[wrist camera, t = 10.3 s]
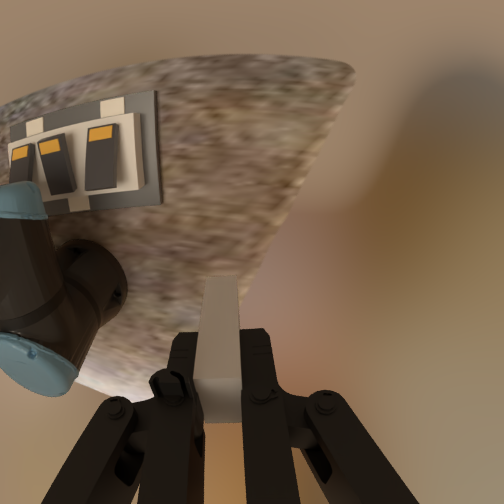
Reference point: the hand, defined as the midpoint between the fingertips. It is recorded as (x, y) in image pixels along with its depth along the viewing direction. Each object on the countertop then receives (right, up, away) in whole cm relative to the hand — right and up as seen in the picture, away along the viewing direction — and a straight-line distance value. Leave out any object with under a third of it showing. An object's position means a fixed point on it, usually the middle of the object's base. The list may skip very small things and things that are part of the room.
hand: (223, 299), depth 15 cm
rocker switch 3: (-17, +14, +16) cm, 27 cm away
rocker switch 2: (-24, +14, +15) cm, 31 cm away
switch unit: (-24, +16, +21) cm, 36 cm away
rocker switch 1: (-31, +13, +15) cm, 37 cm away
